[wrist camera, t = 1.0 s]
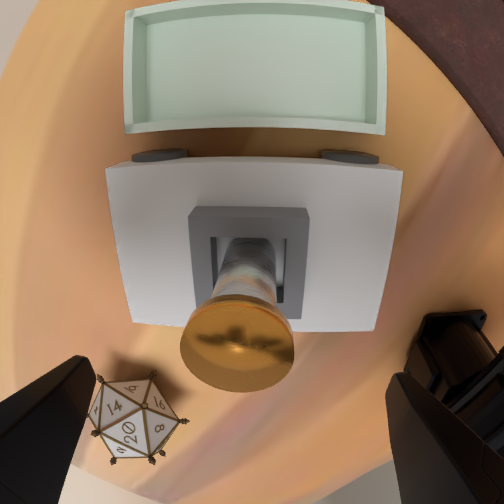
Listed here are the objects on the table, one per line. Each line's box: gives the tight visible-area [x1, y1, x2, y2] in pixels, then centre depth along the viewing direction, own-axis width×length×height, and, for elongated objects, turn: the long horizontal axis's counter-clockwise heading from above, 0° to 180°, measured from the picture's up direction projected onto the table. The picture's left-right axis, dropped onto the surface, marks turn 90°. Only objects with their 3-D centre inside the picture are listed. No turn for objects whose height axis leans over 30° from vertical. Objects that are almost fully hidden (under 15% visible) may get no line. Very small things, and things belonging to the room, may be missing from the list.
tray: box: [123, 0, 387, 135], centre depth 14 cm, size 13×7×2 cm, turn 90°
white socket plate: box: [105, 149, 403, 332], centre depth 16 cm, size 14×10×6 cm
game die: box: [86, 370, 190, 465], centre depth 22 cm, size 9×8×10 cm
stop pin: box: [180, 237, 294, 392], centre depth 12 cm, size 3×3×7 cm
